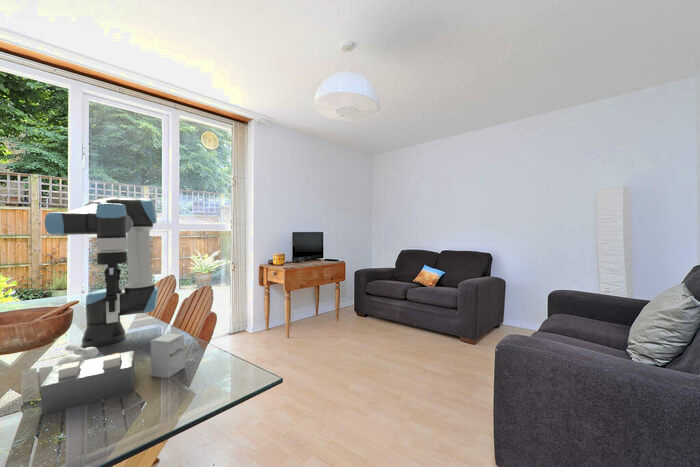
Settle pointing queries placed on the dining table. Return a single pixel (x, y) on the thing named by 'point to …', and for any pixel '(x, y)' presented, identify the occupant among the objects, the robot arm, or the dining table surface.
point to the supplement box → (167, 355)
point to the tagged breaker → (112, 361)
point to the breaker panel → (87, 384)
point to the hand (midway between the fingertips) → (113, 317)
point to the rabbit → (78, 354)
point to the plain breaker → (69, 369)
